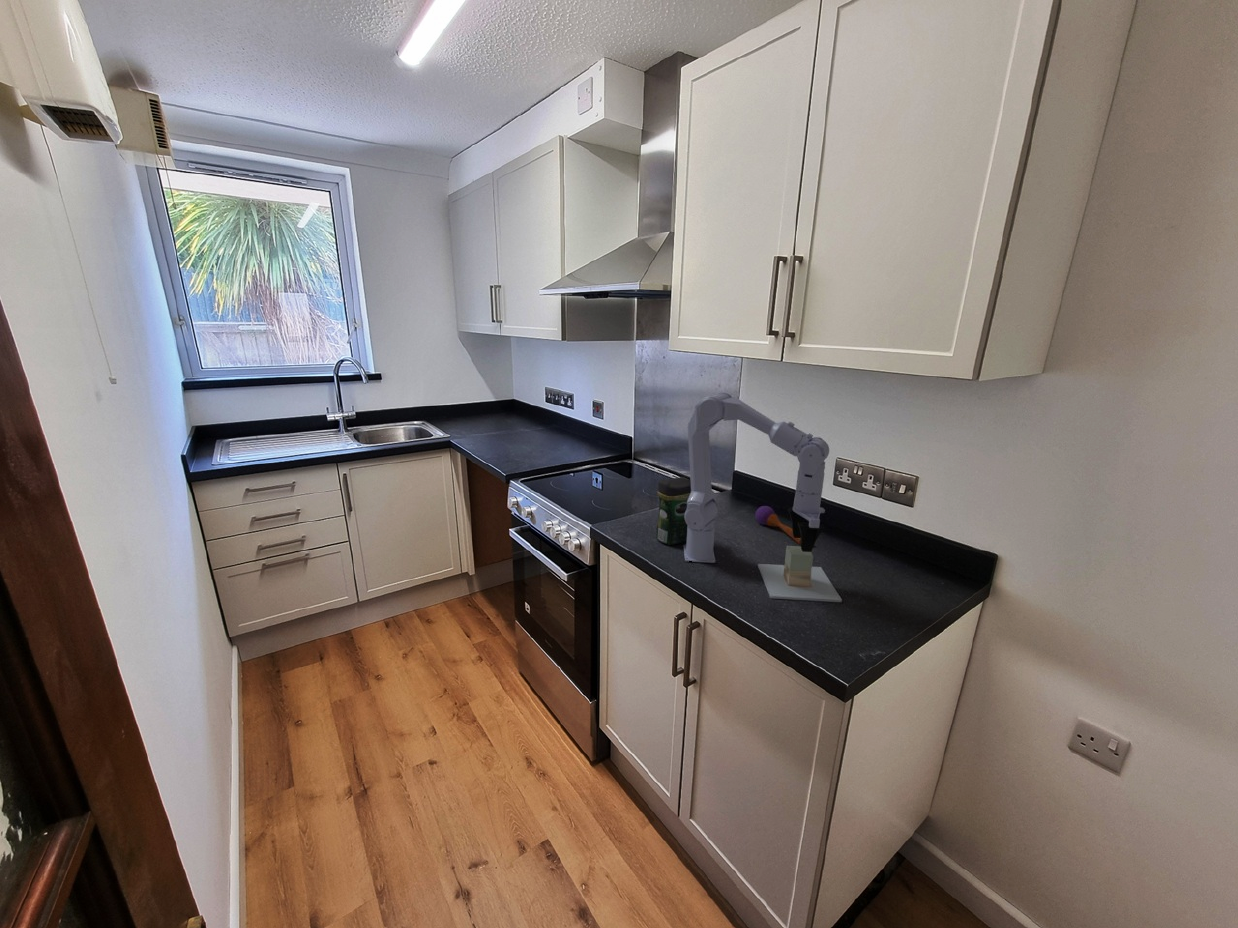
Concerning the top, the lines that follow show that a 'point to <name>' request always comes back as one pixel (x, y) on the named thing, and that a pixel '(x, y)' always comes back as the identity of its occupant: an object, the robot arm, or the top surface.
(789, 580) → the beech block
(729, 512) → the top surface
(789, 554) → the sage block
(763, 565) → the baseplate
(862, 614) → the top surface
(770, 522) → the maraca
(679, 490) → the coffee jar
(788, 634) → the top surface
